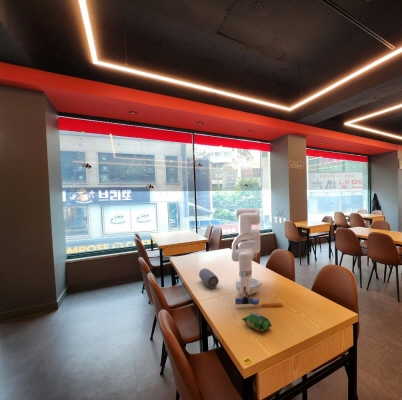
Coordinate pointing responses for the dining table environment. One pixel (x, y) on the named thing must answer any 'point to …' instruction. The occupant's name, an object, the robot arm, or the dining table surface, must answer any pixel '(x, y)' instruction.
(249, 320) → the snack package
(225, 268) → the dining table surface
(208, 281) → the bluetooth speaker
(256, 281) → the cereal bowl
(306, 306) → the dining table surface
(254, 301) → the blue notched block
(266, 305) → the fry
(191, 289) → the dining table surface
